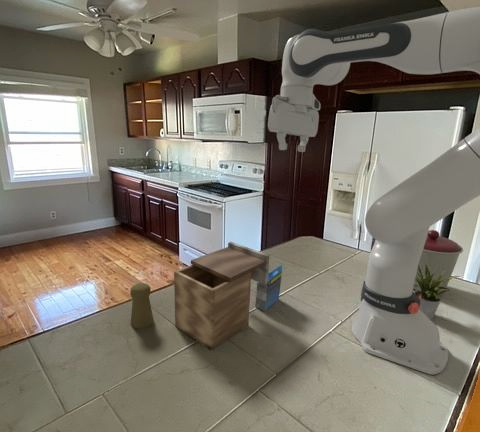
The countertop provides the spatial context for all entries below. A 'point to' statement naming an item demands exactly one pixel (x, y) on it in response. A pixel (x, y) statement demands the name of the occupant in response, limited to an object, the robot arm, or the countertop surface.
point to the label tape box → (269, 290)
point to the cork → (141, 306)
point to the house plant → (430, 291)
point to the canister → (438, 257)
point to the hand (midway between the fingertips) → (292, 150)
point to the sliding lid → (235, 263)
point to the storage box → (210, 305)
